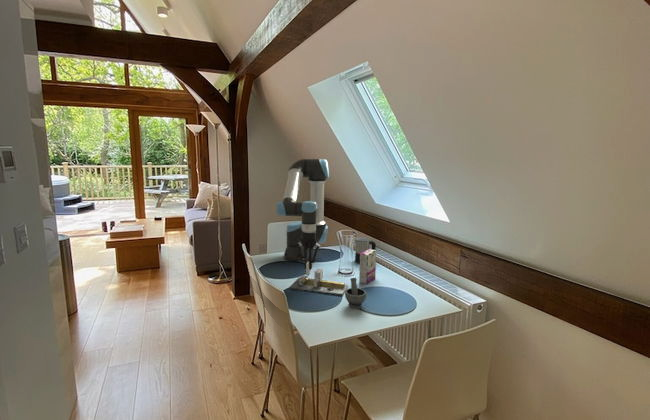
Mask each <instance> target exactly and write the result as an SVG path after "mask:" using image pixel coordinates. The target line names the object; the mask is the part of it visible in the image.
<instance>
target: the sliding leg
mask: <svg viewBox="0 0 650 420" xmlns="http://www.w3.org/2000/svg"><path fill="white" fill-rule="evenodd" d="M313 279H314V287H317V286H318V281H319V282H320V281H321V280H323V279H324V269H323V268H317V269H316V270H315V271H314V278H313Z"/></svg>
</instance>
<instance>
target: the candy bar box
mask: <svg viewBox="0 0 650 420" xmlns="http://www.w3.org/2000/svg"><path fill="white" fill-rule="evenodd" d="M376 263H377V250H372V248H371V249H370V248H369V249H368V250H366V251H364V252H363V253H361V254H360V263H359V277H358V278H359V279H358V280H359V282H358V283H361V284H364V285H368V284H369V283H370V282H372V281H373V280H375V278H376V273H377V272H376V270H377V269H376V268H377V267H376V265H377V264H376Z"/></svg>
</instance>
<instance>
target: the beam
mask: <svg viewBox="0 0 650 420" xmlns="http://www.w3.org/2000/svg"><path fill="white" fill-rule="evenodd" d="M297 279H298V282H299V286H302V285H303V284H304V283H310V284H314V278H309V276H307V275H302V276H301V277H300V276H299V277H298V278H297ZM318 285H324V286H332V287H339V288H344V287H345V285H346V283H345V282H339V281H333V280H325V279H324V280H323V279H322V280H321V281H320V282H319V281H318Z"/></svg>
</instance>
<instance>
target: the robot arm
mask: <svg viewBox="0 0 650 420" xmlns="http://www.w3.org/2000/svg"><path fill="white" fill-rule="evenodd" d="M286 174H287V175H286V176H287V182H286V185H285V191H284V194H283V197H282V201H278V202H277V203H276V213H277V215H278V216H283V217H286V216H287V217H301V221H296V222H291V223H288V224H287V226H286V248H285V251H284V253H283V258H284V260H287V261H291V262H297V261H298V262H299V261H300V262H302V263H304V269H305V276H308V277H309V276H310V275H311V271H312V269H313V264H314V263H315V262H316V261H317V257H318V254H319V251H320V250H319V249H320V248H321V246H322V245H321V244H324V243H326V241H327V234H328V227H329V226H328V225H327V222H326V221H325V220H324V217H325V216H324V215H325V214H324V211H325V207H324V206H325V183H326V182H327V181H328V180H327V179H329V177H330V170H329V163H328V161H327V159H322V158H301V159H298V160H296V161H294V162H293V163H292V164H291V165H290V167H289V168H288V170H287V173H286ZM303 178H308V179H307V180H308V182H309V183H310V195H309V196H310V200H305V201H301V202H298V201H297V200H298V195H299V189H300V186H301V185H300V183H301V181H302V179H303ZM314 248H315V249H314ZM313 251H314V252H313ZM313 253H314V254H313Z"/></svg>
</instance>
